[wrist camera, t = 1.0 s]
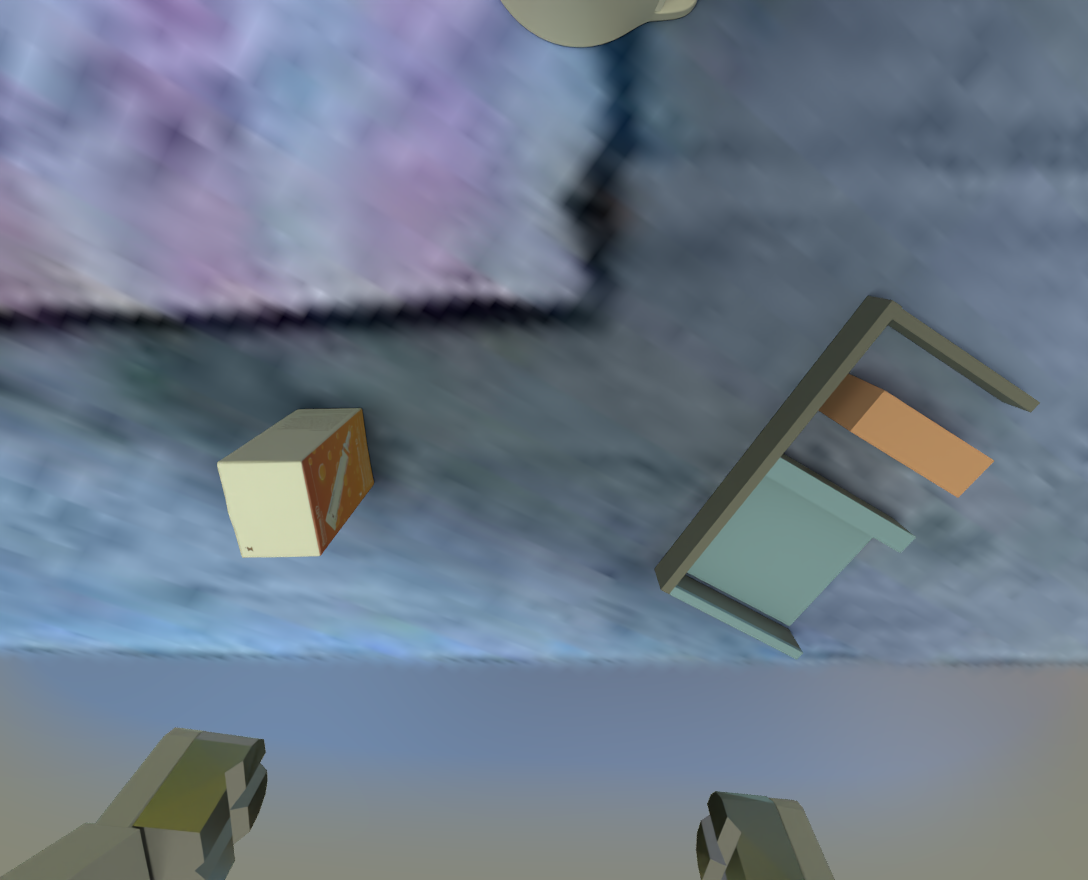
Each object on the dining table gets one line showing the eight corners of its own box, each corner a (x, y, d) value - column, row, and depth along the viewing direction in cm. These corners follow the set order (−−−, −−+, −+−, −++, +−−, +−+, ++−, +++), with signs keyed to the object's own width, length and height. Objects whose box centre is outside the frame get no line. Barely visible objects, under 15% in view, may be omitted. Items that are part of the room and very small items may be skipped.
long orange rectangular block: (845, 372, 47) (884, 390, 42) (944, 435, 49) (994, 460, 44) (815, 408, 49) (850, 431, 43) (913, 468, 51) (958, 497, 45)
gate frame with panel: (867, 295, 45) (892, 300, 41) (1011, 392, 48) (1045, 404, 44) (654, 568, 55) (660, 589, 52) (783, 635, 58) (796, 659, 55)
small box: (375, 483, 52) (321, 559, 40) (312, 485, 52) (239, 560, 40) (363, 405, 49) (301, 461, 37) (296, 406, 49) (212, 462, 37)
